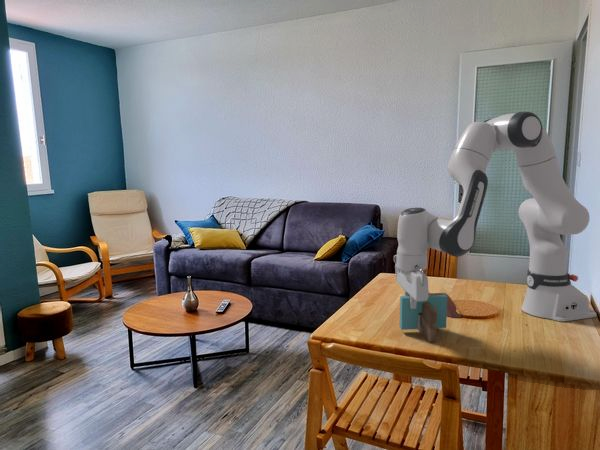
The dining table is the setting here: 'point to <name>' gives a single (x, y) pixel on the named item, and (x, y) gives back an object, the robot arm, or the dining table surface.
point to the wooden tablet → (449, 306)
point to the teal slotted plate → (411, 315)
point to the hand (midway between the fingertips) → (410, 306)
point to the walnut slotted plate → (428, 322)
